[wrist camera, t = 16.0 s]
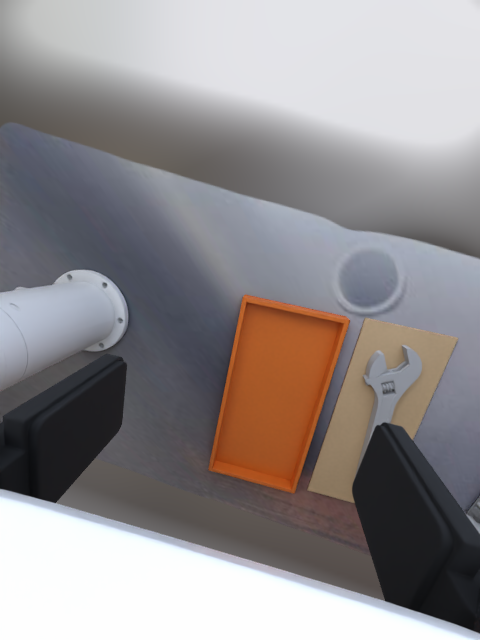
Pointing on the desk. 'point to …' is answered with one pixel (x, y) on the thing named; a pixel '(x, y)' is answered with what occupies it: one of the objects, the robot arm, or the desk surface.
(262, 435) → the tool tray
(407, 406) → the desk mat
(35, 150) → the desk surface
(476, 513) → the graphics card
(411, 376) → the adjustable wrench
